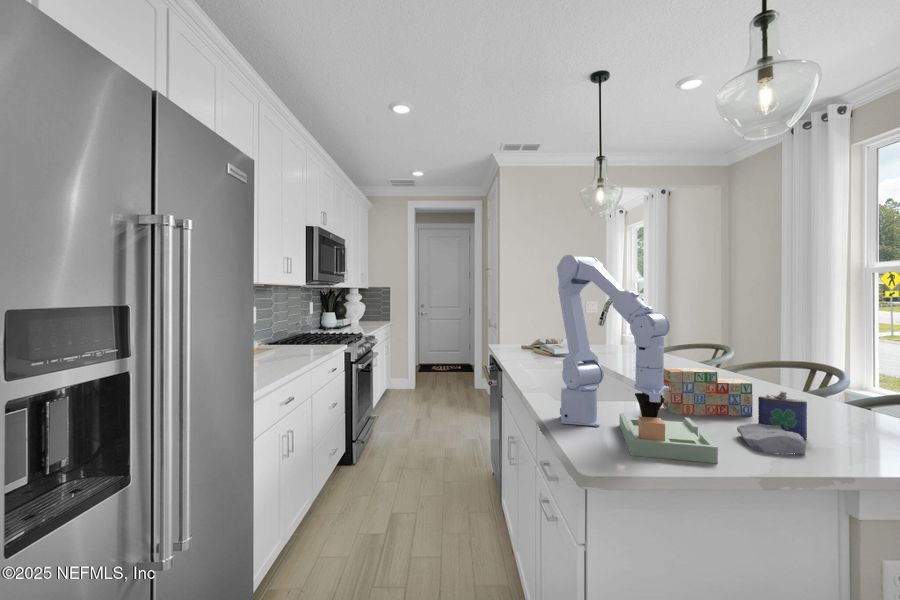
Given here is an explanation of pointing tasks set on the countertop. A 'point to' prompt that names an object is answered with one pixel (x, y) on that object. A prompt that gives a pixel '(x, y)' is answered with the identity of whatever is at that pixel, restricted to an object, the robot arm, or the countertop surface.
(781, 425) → the flask
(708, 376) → the stack of blocks
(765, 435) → the stone block
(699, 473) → the countertop surface
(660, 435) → the block
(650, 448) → the board
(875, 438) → the countertop surface
